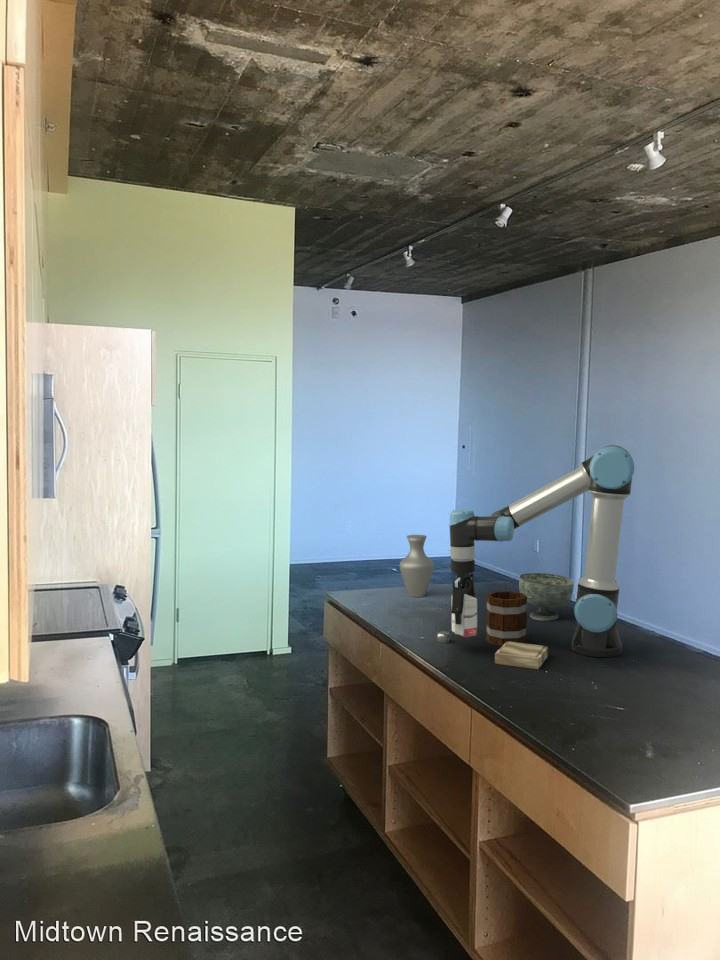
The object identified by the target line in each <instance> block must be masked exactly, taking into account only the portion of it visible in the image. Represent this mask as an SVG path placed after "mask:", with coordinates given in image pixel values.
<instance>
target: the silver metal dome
mask: <svg viewBox="0 0 720 960" xmlns="http://www.w3.org/2000/svg"><path fill="white" fill-rule="evenodd" d="M436 642H437V643H438V644H444V645H445V644H449V643H450V632H449V631H443V630H442V631H441V630H440V631H437V632H436Z"/></svg>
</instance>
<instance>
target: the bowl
mask: <svg viewBox="0 0 720 960" xmlns="http://www.w3.org/2000/svg"><path fill="white" fill-rule="evenodd" d="M574 583H575V581H574V579H573V578H570V577H568V576H565V575H562V574H555V573H550V572H549V573H548V572H526V573H522V574H520V575H519V579H518V591H519V593H523V594H524V595H526V596H527V603H528V604H531V605H534V606H536V607H539V609H537V610H534V611H531V612H530V614H529V616H530V618H531V619H533V620H536V621H547V622H548V621H555V620H558V619H559V614H558V613H557V612H555V611H553V610H550V608H559V607H562V606H564V605H566V604H568V603H569V601H571V598H572V596H573V590H574Z"/></svg>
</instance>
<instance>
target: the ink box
mask: <svg viewBox="0 0 720 960" xmlns="http://www.w3.org/2000/svg"><path fill="white" fill-rule="evenodd" d="M462 613H464V635H460V634H458V635H459V636H462V637H464V638H468V637H473V636H474V637H475V636H478V598H476V597H475V598H474V597H472V596H469V595H467V594H465V595H464V599H463V611H462ZM451 631H452V632H453V633H455V615H454V613H451Z"/></svg>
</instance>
